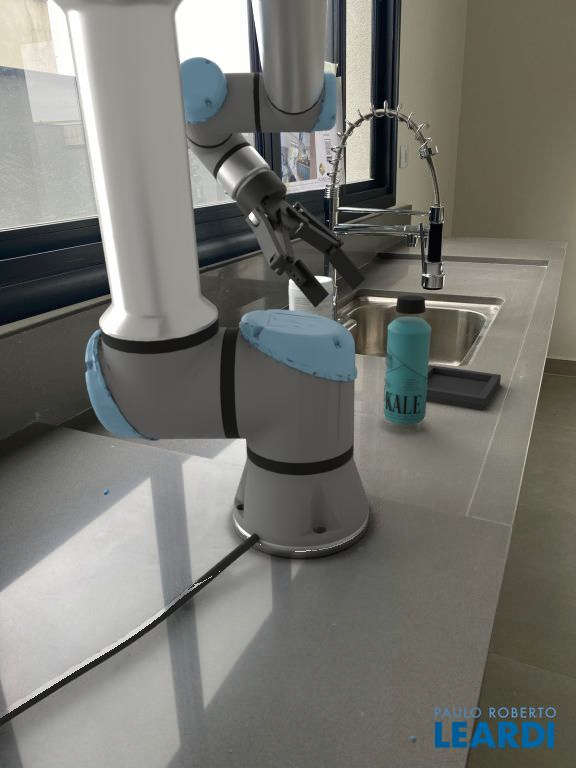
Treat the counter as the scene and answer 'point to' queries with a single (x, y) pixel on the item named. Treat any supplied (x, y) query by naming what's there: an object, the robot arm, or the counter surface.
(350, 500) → the robot arm
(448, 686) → the counter surface
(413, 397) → the beverage bottle
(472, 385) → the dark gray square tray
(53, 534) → the counter surface
